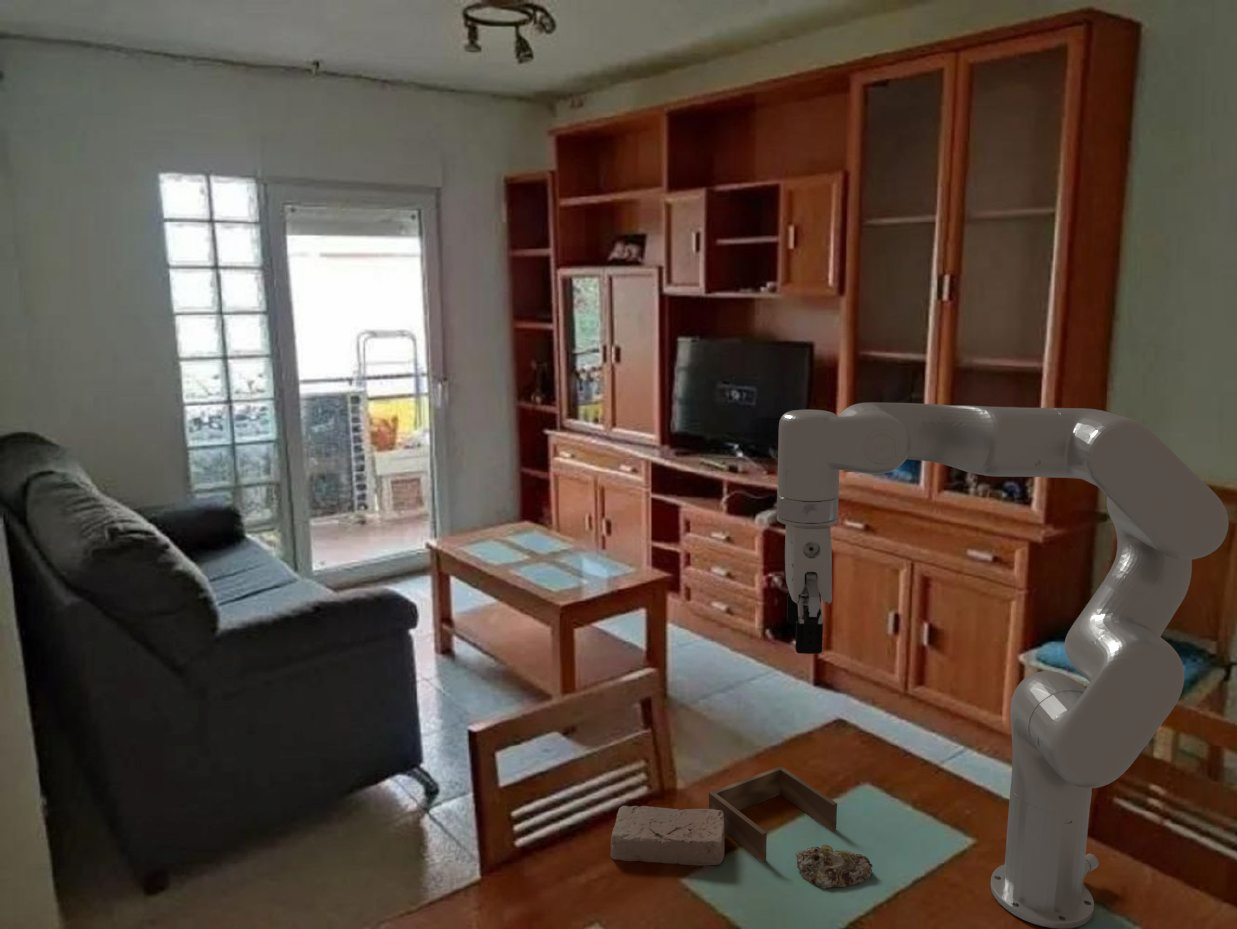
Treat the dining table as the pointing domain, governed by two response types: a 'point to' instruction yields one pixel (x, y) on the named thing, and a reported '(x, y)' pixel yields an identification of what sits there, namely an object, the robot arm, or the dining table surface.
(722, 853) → the brick
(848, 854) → the mineral rock
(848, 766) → the dining table surface
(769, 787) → the box
